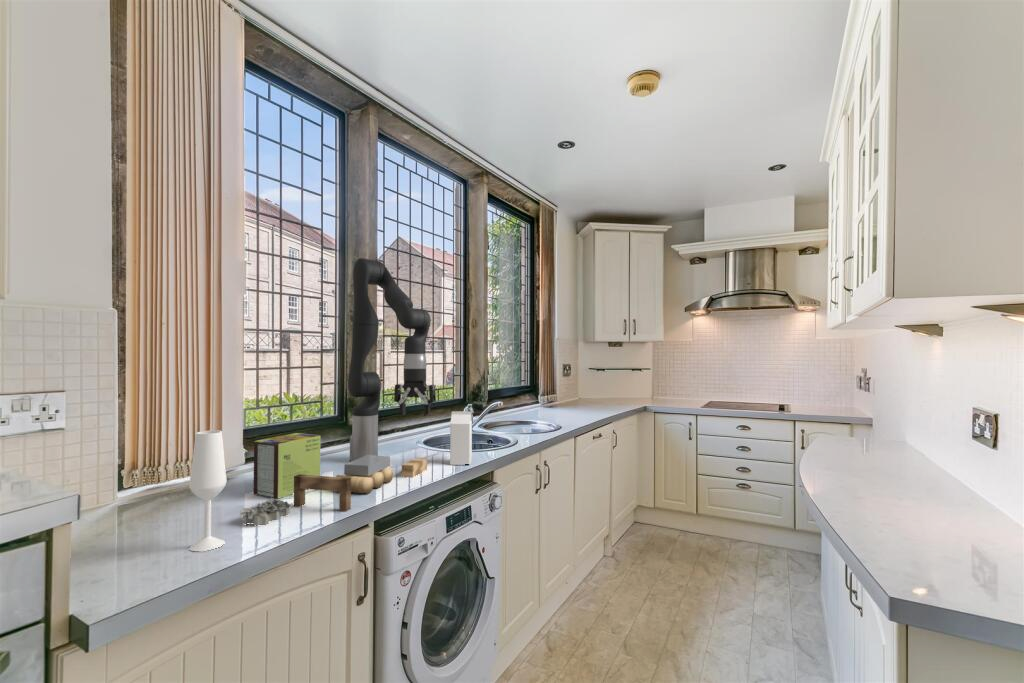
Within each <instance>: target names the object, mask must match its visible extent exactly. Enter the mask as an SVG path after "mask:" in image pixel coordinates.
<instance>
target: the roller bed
mask: <svg viewBox="0 0 1024 683" xmlns="http://www.w3.org/2000/svg"><path fill="white" fill-rule="evenodd" d="M335 477H341V478H351V493H357V494H370V493H371V492H372V491H373V488H377V489H379V488H381V487H382V486H383V484H384V483H387V484H388V483H391V482H392V481H393V477H394V470H393V468H392V467H387V468H384V469H382V470H380V471H378V472H376V473H374V474H372V475H370V476H359V475H346V474H344V475H342V474H337V475H336V476H335Z"/></svg>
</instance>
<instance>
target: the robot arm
mask: <svg viewBox="0 0 1024 683" xmlns="http://www.w3.org/2000/svg"><path fill="white" fill-rule="evenodd" d="M352 270H353V271H352V285H353V317H352V334H351V335H352V337H351V338H352V339H351V341H352V342H351V354H350V356H351V357H350V363H349V364H350V365H349V370H348V376H347V377H348V378H347V388H348V393H349V395H350V396H351V397H352V398H364V399H363V401H361V402H360V403H359V404H358V405H355V406H354V407H353V408H352V412H351V413H352V420H351V421H352V424H351V425H352V427H351V428H352V429H351V430H352V434H351V435H350V436H349V462H350V461H354V460H356V459H359V458H362V457H364V456H367V455H375V456H379V453H378V451H379V408H380V405H381V404H380V403H381V389H382V388H381V385H382V384H381V378H380V375H379V374H378V373H377V372H376V371H364V368H365V362H366V360H367V357H368V355H369V353H370V352H371V351H372V349H373V348H374V346H375V344H376V342H377V340H378V337H379V325H380V322H379V317H378V315H377V313H376V310H375V308H374V307H373V304H372V302H371V300H370V297H369V285H372V286H378V287H379V288H381V289H382V290H383V298H384V301H385V303H386V305H387V306H389V307H390V309H391V310H392V311H393V312H394V313H395V316H396V319H397V321H398V323H399V325H400V326H401V327H403V328H404V329H408V330H414V331H413V335H410V336H406V337H405V339H404V353H403V354H404V356H403V357H404V358H403V384H401V383H398V384H397V383H396V384H395V385H394V397H393V401H394V402H395V403H398V405H399V414H400V415H401V416H405V415H406V413H407V409H406V408H407V407H406V406H407V405H406V402H407V400H408V399H410V398H420V400H421V401H422V402H423V403H424V405H423V410H424V411H423V414H424V415H423V416H425V417H428V416H430V414H431V404H433V403H436V401H437V399H436V398H437V394H436V385H435V384H428V385H427V355H426V341H427V338H428V334H429V330H430V328H431V327H430V326H431V315H430V313H429V311H427V310H426V309H424V308H423V309H422V308H414V304H413V301H412V299H411V298H410V297H409V296H408V295H407V294H406V293H405V292H404V291H403V290H402V289H401V288H400V286H399V285H398V283H397V282H396V280H395V279H394V278H393V275H392V274H391V273H390V271H389V269H388V268H387V266H386V264H384V263H383V262H381V261H379V260H375V259H369V258H363V257H359V258H358V259H356V260H355V262H354V264H353V269H352ZM402 391H404V393H402ZM426 391H427V392H428V394H427V393H426Z"/></svg>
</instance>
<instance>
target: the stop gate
mask: <svg viewBox="0 0 1024 683" xmlns="http://www.w3.org/2000/svg"><path fill="white" fill-rule="evenodd" d="M305 489H308V490H314V491H315V490H316V491H326V492H327V491H329V492H338V493H339V501H338V502H339V504H338V505H339V509H338V511H340V512H348V511H350V510H351V509H352V507H351V506H352V505H351V504H352V502H351V501H352V492H351V478H341V477H336V476H328V475H320V476H316V475H303V474H298V475H296V476H294V494H293V507H295V506H301V507H303V506H305V505H306V490H305ZM304 504H305V505H304ZM302 505H303V506H302Z"/></svg>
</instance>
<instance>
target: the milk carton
mask: <svg viewBox="0 0 1024 683" xmlns="http://www.w3.org/2000/svg"><path fill="white" fill-rule="evenodd" d="M450 417H451V418H450V424H449V426H450V427H449V428H450V429H449V431H450V432H449V436H450V437H449V439H450V440H449V441H450V442H449V449H450V450H449V466H458V465H459V466H466V465H465V464H470V465H471V463H472V461H471V460H472V458H473V456H472V453H473V452H472V450H473V449H472V448H473V444H472V443H473V441H472V440H473V438H472V437H473V429H472V428H473V419H472V412H471V411H464V410H463V411H462V410H461V411H460V410H459V411H458V410H457V411H451V416H450Z"/></svg>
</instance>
